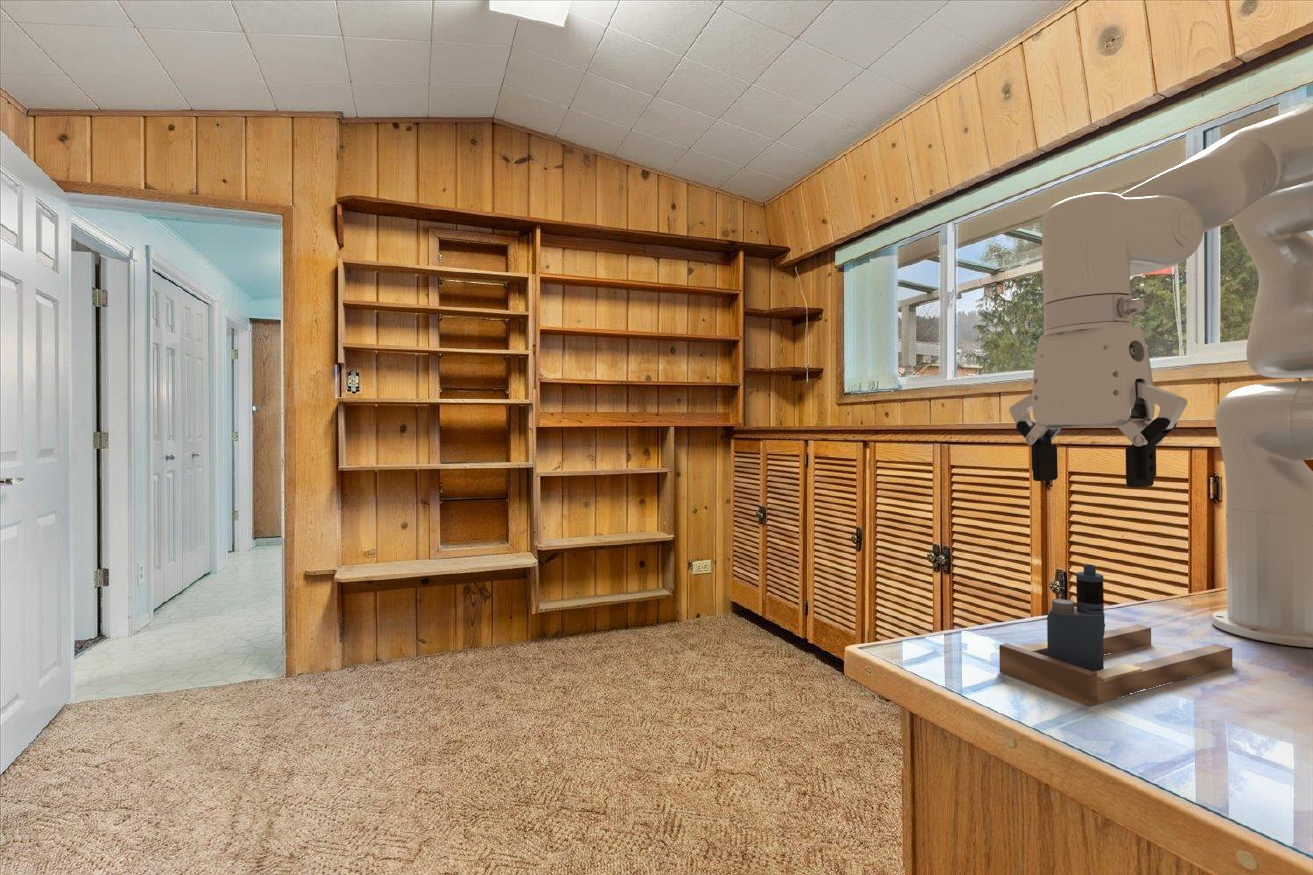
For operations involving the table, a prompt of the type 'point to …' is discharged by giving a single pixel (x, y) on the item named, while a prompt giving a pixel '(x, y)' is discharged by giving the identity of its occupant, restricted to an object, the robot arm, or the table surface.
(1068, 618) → the vaping device
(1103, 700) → the rail channel
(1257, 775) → the table surface
